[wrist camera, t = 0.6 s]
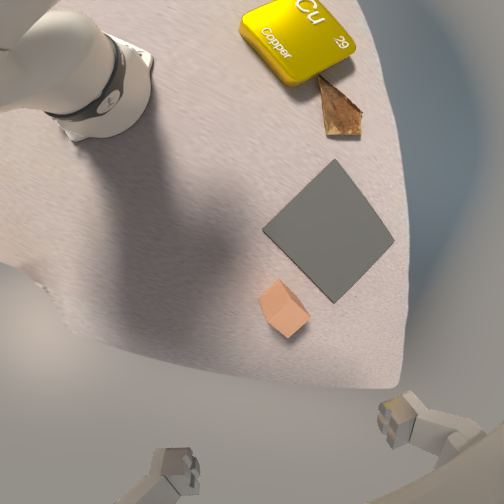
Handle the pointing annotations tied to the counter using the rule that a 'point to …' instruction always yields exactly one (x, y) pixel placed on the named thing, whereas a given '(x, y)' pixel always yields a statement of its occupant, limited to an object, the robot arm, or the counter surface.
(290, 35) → the element tile
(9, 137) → the counter surface
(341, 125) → the shard
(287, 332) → the terracotta block
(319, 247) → the charcoal mat
